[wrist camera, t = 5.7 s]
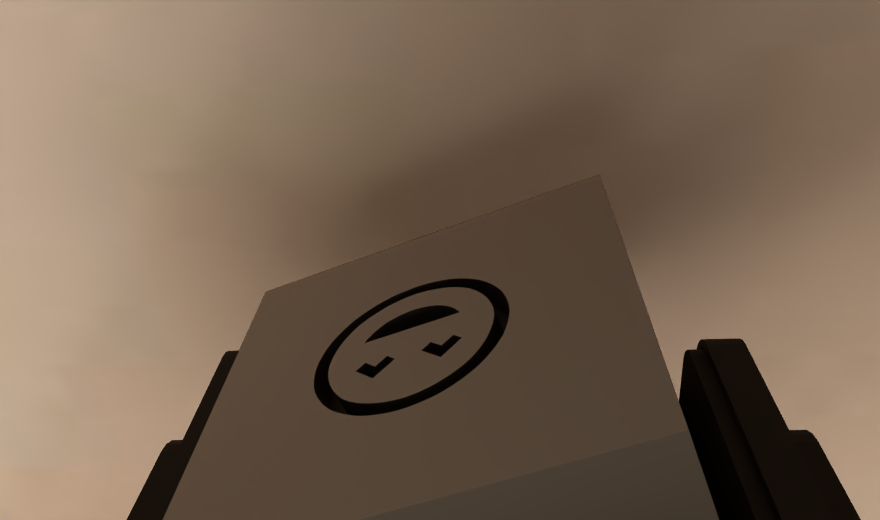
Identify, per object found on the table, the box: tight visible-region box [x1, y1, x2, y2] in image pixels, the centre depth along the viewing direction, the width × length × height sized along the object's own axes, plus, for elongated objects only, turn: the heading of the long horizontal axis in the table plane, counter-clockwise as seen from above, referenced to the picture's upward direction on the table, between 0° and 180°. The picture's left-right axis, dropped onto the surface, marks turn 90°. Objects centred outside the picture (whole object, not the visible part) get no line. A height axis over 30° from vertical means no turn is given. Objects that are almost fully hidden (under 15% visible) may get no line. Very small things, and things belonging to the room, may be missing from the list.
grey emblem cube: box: [163, 175, 719, 520], centre depth 10 cm, size 5×5×5 cm
